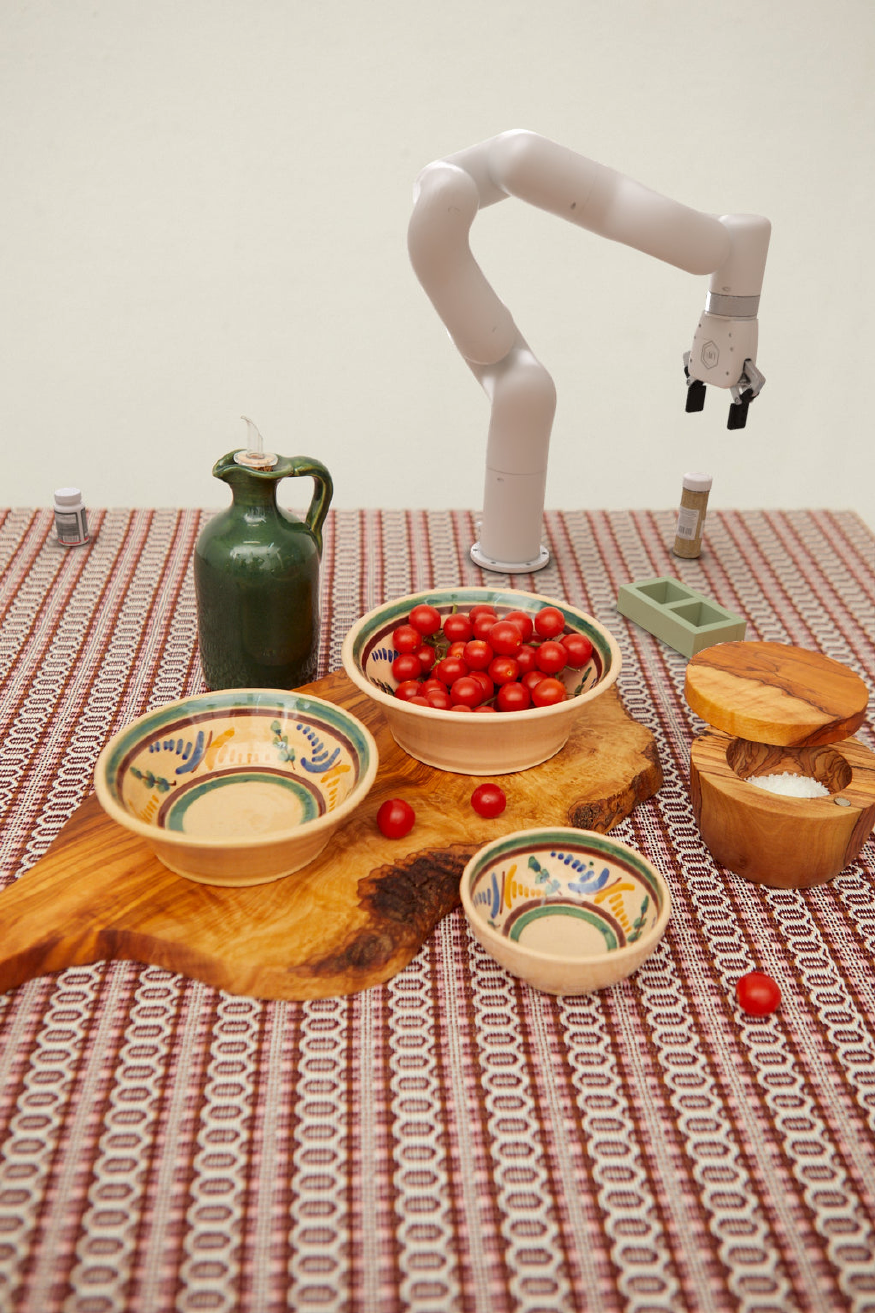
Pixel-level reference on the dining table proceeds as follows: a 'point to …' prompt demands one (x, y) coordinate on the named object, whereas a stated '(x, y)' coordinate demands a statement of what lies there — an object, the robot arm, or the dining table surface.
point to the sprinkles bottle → (692, 514)
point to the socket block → (679, 615)
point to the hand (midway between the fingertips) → (714, 419)
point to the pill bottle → (70, 517)
